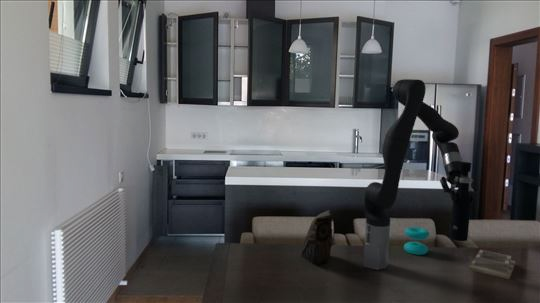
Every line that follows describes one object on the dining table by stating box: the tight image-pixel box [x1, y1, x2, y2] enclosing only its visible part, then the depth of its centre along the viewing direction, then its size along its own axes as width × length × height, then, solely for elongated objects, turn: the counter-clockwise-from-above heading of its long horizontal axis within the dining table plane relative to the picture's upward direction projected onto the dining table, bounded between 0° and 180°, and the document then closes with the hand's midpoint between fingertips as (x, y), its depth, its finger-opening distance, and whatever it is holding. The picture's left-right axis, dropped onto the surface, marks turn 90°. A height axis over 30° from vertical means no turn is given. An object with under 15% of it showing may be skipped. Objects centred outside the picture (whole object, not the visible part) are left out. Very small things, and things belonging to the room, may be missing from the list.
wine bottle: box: [449, 161, 472, 242], centre depth 164 cm, size 6×6×30 cm
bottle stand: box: [468, 249, 516, 280], centre depth 171 cm, size 18×14×4 cm
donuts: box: [403, 226, 430, 256], centre depth 186 cm, size 10×10×10 cm
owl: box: [300, 209, 334, 266], centre depth 173 cm, size 13×13×20 cm
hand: (464, 201), depth 163 cm, fingers closed on wine bottle, 6 cm apart
